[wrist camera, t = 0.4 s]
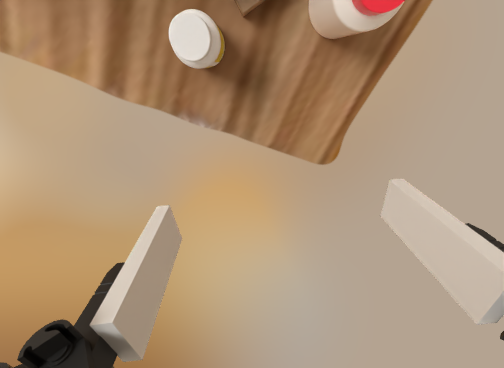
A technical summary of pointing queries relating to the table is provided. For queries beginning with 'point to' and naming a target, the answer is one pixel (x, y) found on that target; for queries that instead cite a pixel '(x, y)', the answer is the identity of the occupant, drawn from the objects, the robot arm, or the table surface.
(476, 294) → the robot arm
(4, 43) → the table surface
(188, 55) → the supplement bottle
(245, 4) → the jig
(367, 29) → the pill bottle
